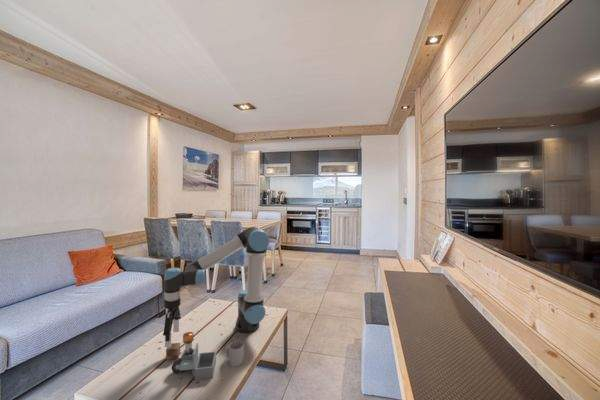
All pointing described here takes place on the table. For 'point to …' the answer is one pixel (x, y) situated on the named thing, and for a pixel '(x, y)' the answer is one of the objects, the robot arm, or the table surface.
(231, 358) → the cup
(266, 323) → the table surface
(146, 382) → the table surface
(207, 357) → the bin
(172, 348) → the block
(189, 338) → the pin
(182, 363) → the grey bracket
